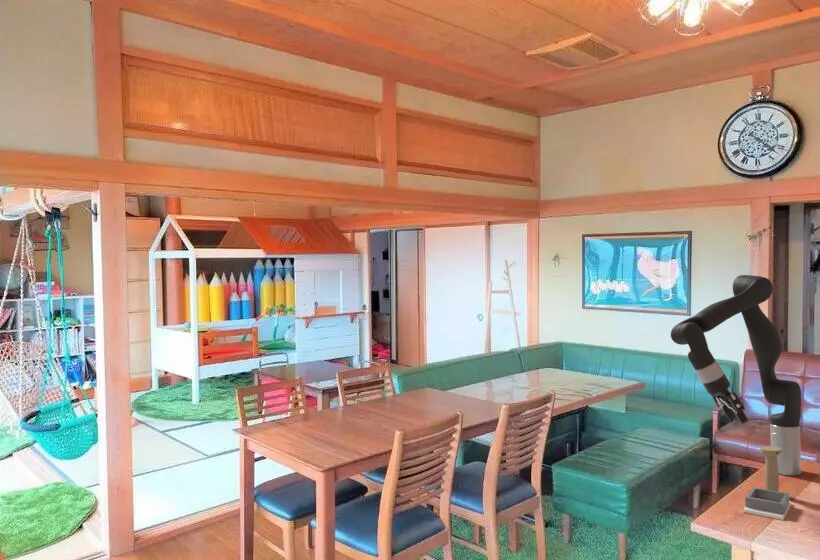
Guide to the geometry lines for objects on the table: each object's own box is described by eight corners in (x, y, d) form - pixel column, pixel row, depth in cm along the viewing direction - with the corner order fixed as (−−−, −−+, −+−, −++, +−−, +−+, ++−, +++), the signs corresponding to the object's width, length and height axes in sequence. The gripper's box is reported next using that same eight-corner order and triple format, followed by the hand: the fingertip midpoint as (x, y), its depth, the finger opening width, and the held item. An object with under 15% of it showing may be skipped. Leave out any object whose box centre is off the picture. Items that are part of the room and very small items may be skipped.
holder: (753, 497, 196) (753, 485, 196) (791, 504, 189) (790, 491, 189) (743, 512, 184) (743, 499, 184) (783, 520, 178) (782, 506, 178)
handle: (786, 495, 197) (785, 449, 196) (770, 497, 195) (768, 451, 195) (774, 490, 201) (773, 445, 201) (758, 492, 200) (756, 447, 200)
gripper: (732, 372, 194) (759, 417, 192) (712, 369, 208) (737, 411, 207) (712, 384, 194) (739, 429, 192) (693, 380, 208) (718, 422, 206)
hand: (738, 420), depth 199 cm, fingers open, 8 cm apart
